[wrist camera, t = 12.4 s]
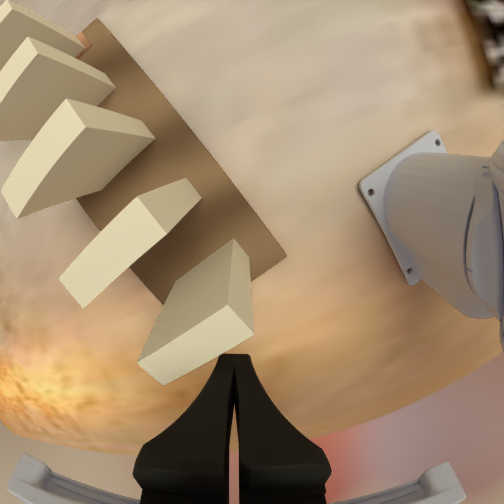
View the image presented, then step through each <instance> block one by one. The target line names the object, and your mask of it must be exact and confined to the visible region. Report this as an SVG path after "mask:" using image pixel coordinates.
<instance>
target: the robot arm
mask: <svg viewBox="0 0 504 504" xmlns="http://www.w3.org/2000/svg"><path fill="white" fill-rule="evenodd" d="M435 141H437V145H436V143H435ZM359 189H360V191H361V192H362V194H363V196H364V198H365V199H366V201H367V203H368V205H369V207H370V208H371V210H372V212H373V214H374V216H375V218H376V219H377V221H378V223H379V225H380V227H381V229H382V231H383V233H384V235H385V237H386V239H387V241H388V243H389V245H390V247H391V249H392V251H393V253H394V255H395V257H396V259H397V261H398V263H399V266H400V268H401V270H402V272H403V274H404V277H405V279H406V281H407V283H408V284H409V285H411V286H413V285H415V284H416V283H418V282H419V281H420V280H422V281H423V282H424V283H425V284H427V285H428V286H429V287H430V288H432V289H433V290H434V291H435V292H437V293H438V294H439V295H440V296H441V297H443V298H444V299H445V300H446V301H447V302H448V303H450V304H451V305H452V306H453V307H454V308H455V309H457V310H458V311H459V312H460V313H462V314H463V315H465V316H468V317H471V318H477V319H486V318H491V317H495V318H497V319H498V320H499V321H500V330H499V336H500V343H501V347H502V350H503V352H504V141H502V142H501V143H500V145H499V146H498V148H497V150H496V152H495V153H494V154H493V155H492V157H491V158H490V157H481V156H472V155H461V154H449V153H447V151H446V149H445V146H444V144H443V142H442V140H441V138H440V136H439V134H438V132H437V131H435V130H430V131H428V132H427V133H426V134H424V135H423V136H421V137H420V138H419V139H417V140H416V141H415V142H413V143H412V144H410V145H409V146H408V147H406V148H405V149H403V150H402V151H401V152H399V153H398V154H396V155H395V156H394V157H392V158H391V159H389V160H388V161H387V162H385V163H384V164H383V165H381V166H380V167H378V168H377V169H376V170H374V171H373V172H371V173H370V174H369V175H367V176H366V177H364V178H363V179H362V180H361V181H360V183H359ZM369 189H372V194H371V195H370V196H369V195H368V190H369ZM409 268H410V270H409V271H408V272H407V270H408V269H409ZM234 403H235V413H236V422H237V432H238V442H239V504H327V503H326V499H325V493H326V489H325V483H326V481H327V480H328V478H329V477H330V475H331V472H332V471H331V467H330V464H329V461H328V459H327V457H326V455H325V453H324V451H323V450H322V449H321V448H320V447H318V446H317V445H316V444H314V443H313V442H312V441H310V440H309V439H308V438H306V437H305V436H304V435H303V434H301V433H300V432H299V431H298V430H297V429H296V428H295V427H294V426H293V425H292V424H291V423H290V422H289V421H288V420H287V419H286V418H285V417H284V416H283V415H282V414H281V412H280V411H279V410H278V409H277V407H276V406H275V405H274V403H273V402H272V401H271V399H270V398H269V396H268V395H267V393H266V391H265V390H264V388H263V386H262V384H261V383H260V381H259V379H258V377H257V375H256V372H255V370H254V368H253V365H252V362H251V358H250V356H249V355H248V354H221V355H219V358H218V361H217V364H216V366H215V368H214V370H213V372H212V374H211V376H210V378H209V379H208V381H207V383H206V385H205V386H204V388H203V389H202V391H201V392H200V394H199V395H198V396H197V398H196V399H195V400H194V402H193V403H192V404H191V405H190V406H189V408H188V409H187V410H186V411H185V412H184V413H183V414H182V415H181V416H180V417H179V418H178V419H177V420H176V421H175V422H174V423H173V424H171V425H170V426H169V427H168V428H167V429H165V430H164V431H163V432H162V433H160V434H159V435H158V436H156V437H155V438H153V439H152V440H150V441H148V442H147V443H145V444H144V445H143V447H142V448H141V450H140V452H139V454H138V457H137V459H136V462H135V466H134V470H133V476H134V478H135V480H136V481H137V482H138V484H139V485H140V487H141V488H142V489H143V490H142V495H141V500H138V499H133V498H129V497H125V496H122V495H118V494H114V493H111V492H107V491H104V490H101V489H97V488H94V487H92V486H89V485H86V484H83V483H80V482H77V481H75V480H72V479H70V478H67V477H65V476H62V475H60V474H57V473H55V472H53V471H51V469H50V468H49V467H48V466H47V465H46V464H45V463H44V462H42V461H40V460H39V459H36V458H34V457H32V456H30V455H28V454H26V453H23V454H22V456H21V458H20V460H19V462H18V464H17V466H16V468H15V470H14V472H13V474H12V476H11V478H10V481H9V483H8V485H7V487H6V488H7V490H8V491H10V492H11V493H12V494H13V495H14V496H16V497H17V498H18V499H19V500H21V501H22V502H23V503H25V504H229V444H230V434H231V426H232V418H233V410H234ZM465 498H466V495H465V493H464V491H463V488H462V486H461V484H460V482H459V481H458V479H457V477H456V475H455V473H454V471H453V469H452V467H451V465H450V463H449V461H446V462H444V463H441V464H439V465H437V466H435V467H432V468H430V469H428V470H427V471H425V472H424V473H423V474H422V475H421V476H420V477H419V478H418V479H416V480H413V481H410V482H408V483H405V484H402V485H399V486H396V487H393V488H390V489H387V490H384V491H380V492H377V493H373V494H370V495H366V496H362V497H358V498H354V499H349V500H345V501H340V502H335V503H329V504H459V503H460V502H461V501H463V500H464V499H465Z"/></svg>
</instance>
